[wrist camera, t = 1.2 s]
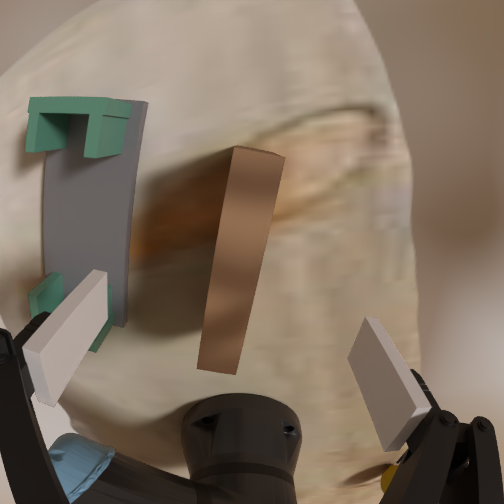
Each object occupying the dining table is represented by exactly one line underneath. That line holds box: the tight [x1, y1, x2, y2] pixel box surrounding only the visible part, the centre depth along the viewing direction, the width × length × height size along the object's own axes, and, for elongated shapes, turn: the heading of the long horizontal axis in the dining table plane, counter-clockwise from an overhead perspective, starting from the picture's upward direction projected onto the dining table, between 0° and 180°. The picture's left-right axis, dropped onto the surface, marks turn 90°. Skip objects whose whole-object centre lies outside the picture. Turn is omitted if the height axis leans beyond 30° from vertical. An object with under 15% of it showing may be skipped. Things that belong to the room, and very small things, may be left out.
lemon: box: [381, 465, 399, 494], centre depth 39 cm, size 6×6×8 cm
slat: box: [197, 145, 285, 375], centre depth 24 cm, size 16×3×8 cm, turn 169°
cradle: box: [25, 97, 148, 353], centre depth 24 cm, size 21×9×6 cm, turn 169°
